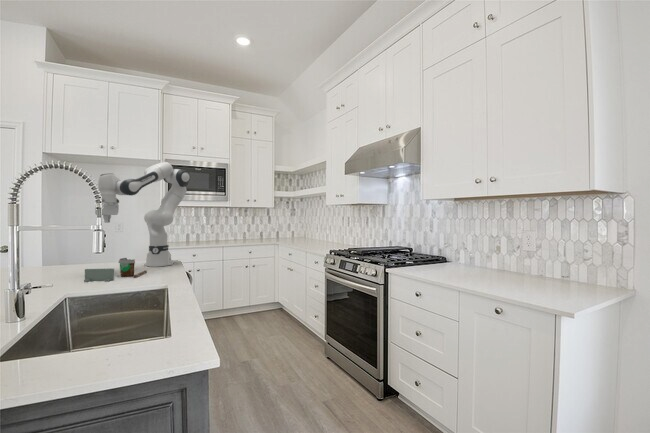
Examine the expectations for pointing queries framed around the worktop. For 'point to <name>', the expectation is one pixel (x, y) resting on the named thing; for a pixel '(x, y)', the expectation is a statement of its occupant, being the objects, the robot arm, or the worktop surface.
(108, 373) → the worktop surface
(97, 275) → the screen
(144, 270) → the rail
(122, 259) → the food container
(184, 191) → the robot arm
